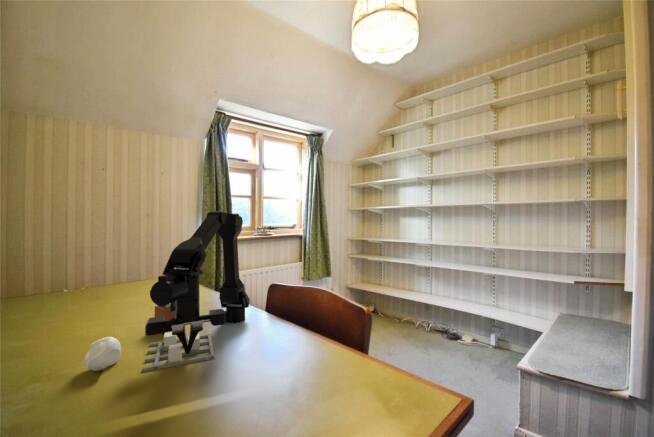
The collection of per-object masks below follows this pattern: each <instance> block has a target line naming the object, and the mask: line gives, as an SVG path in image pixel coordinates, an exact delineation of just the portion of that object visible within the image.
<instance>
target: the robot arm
mask: <svg viewBox="0 0 654 437" xmlns="http://www.w3.org/2000/svg"><path fill="white" fill-rule="evenodd" d="M243 222H244V221H243V217H242V216H240V214H239V213H229V212H225V211H222V210H216V211H215V210H211V211H208V213H206V216H205V219H204V220H203V221H202V223H201V224H200V225H199V226H198V228H197V229H196V230H195V232H194V233H193V234H192V235H191V236H190V237H189V239H186V240H184V241H182V242H180V243H179V244H178V245H176V246H175V248H173V250H172V252H171V254H169V255H170V256H169V258H168V259H167V262H166V264H165V266H164V268H163V271H162V274H161V275H159V276H157V281H156V282H155V283H154V284H153V285H152V286H151V289H150V290H149V297H150V299H151V301H152V303H154V305H155V306H165V305H167V304H170V312H176V319H169V320H165V316H160V317H155V316H154V317H153V316H151V317H149V318H148V320H147V321H146V323H145V327H144V335H145V336H147V337H149V336H157V335H160V334H162V333H161V332H162V331H163V330H164V328H168V327H172V335H176V338H177V339H179V340H180V341H181V342H180V344H181V343H182V345H183V348H182V349H183V350H184V352H185V353H186V354H190V351H191V348H192V345H193V343H194V340H195V338H196V336H197V334H200V333H199V332H203V331H204V327H203V325H204V323H209V322H210V324H211V326H213V327H216V326H224V325H226V324H238V323H239V324H240V323H241V322H244V321H246V308H249V307H250V302H251V301H250V300H251V299H250V298H249V295H248V293H247V292H246V288H245V287H246V286H245V284H244V283H243V281H242V280H241V279H240V271H239V270H240V267H239V265H240V264H239V247H238V238H239V236H240V234H241V232H242V231H243V230H242V228H243V227H242V226H243ZM216 234H217V235H218V236H219V237H220V239H221V240H222V241H221V242H222V254H223V255H222V257H223V272H224V274H223V275H224V282H223V283H222V285H221V286H220V287H219V289H218V290H219V301H220V307H221V308H216V309H209V311H208V314H201V313H200V276H201V275H204V271H203V270H202V269H201V267H202V266H203V264H204V262H205V260H206V257H207V252H206V249H207V248H208V246H209V245H210V243H211V242H212V240H213V239H214V237H215V235H216ZM223 308H225V310H224V309H223ZM200 314H201V315H200ZM188 325H189V326H190V327H189V334H188V335H189V341H187V337H188V336H187V333H186V326H188ZM190 355H191V354H190Z"/></svg>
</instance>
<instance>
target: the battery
mask: <svg viewBox="0 0 654 437" xmlns="http://www.w3.org/2000/svg"><path fill="white" fill-rule="evenodd" d="M160 316H165V320H169V319H176V312H170V304H167V305H165V306H158V305H155V306H154V317H160ZM166 332H172V327H168V328H164V330H163V331H162V332H161V333H160V334H162V335H164V334H165V333H166Z"/></svg>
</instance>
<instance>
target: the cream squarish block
mask: <svg viewBox="0 0 654 437" xmlns="http://www.w3.org/2000/svg"><path fill="white" fill-rule="evenodd" d="M176 339H177V335H172V332H166V333H165V334H163V341H164V344H163V348H166V347H169V345H175V344H177V342H176Z"/></svg>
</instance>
